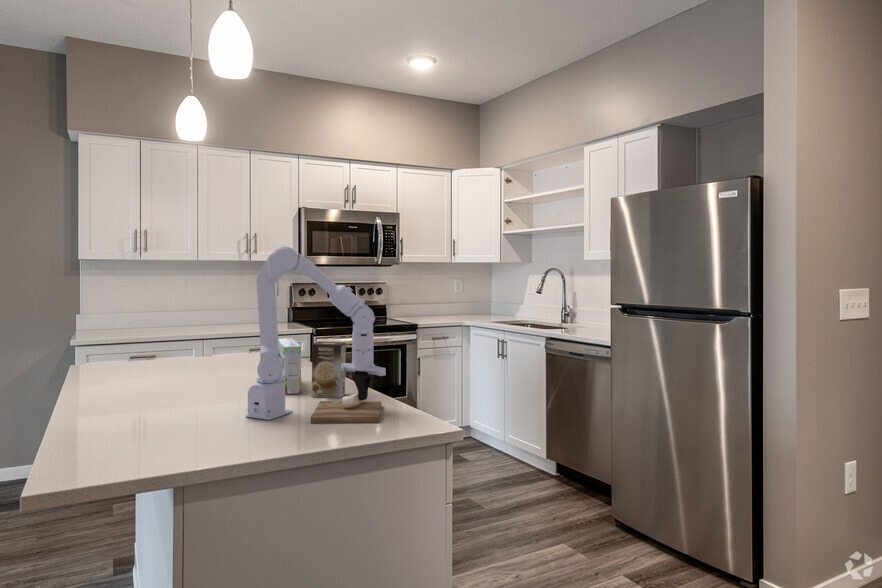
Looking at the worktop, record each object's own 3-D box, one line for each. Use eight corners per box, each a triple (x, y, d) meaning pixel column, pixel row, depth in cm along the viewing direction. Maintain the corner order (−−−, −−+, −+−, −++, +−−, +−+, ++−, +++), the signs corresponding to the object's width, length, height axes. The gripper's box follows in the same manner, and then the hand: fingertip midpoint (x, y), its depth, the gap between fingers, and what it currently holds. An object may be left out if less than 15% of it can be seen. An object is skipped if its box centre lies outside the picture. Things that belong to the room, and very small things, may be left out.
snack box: (276, 382, 198) (276, 338, 198) (293, 381, 200) (293, 337, 200) (283, 395, 178) (283, 345, 178) (302, 394, 180) (302, 345, 180)
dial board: (379, 422, 147) (379, 415, 147) (310, 423, 146) (310, 416, 146) (381, 406, 165) (381, 400, 165) (320, 406, 164) (320, 400, 164)
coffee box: (310, 397, 176) (310, 343, 175) (317, 393, 182) (317, 341, 181) (340, 398, 175) (340, 344, 174) (346, 393, 181) (346, 341, 180)
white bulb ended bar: (350, 407, 153) (350, 398, 153) (340, 406, 155) (340, 397, 155) (369, 399, 163) (369, 391, 163) (360, 398, 164) (360, 390, 164)
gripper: (393, 350, 158) (392, 400, 159) (353, 346, 167) (353, 393, 167) (375, 353, 153) (375, 405, 153) (335, 348, 161) (335, 398, 161)
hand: (362, 399), depth 160 cm, fingers closed, pressing on white bulb ended bar
